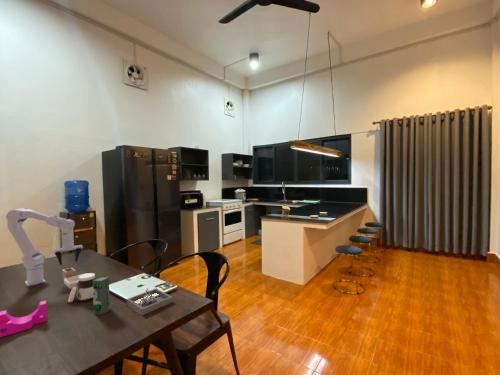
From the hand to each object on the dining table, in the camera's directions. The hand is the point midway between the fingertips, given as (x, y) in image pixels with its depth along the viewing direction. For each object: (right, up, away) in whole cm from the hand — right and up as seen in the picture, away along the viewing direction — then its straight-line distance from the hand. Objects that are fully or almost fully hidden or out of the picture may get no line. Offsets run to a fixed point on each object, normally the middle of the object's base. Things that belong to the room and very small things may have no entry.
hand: (68, 262), depth 150 cm
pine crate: (0, -11, +1) cm, 11 cm away
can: (+41, -11, -36) cm, 55 cm away
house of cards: (+60, -11, -32) cm, 69 cm away
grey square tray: (+60, -11, -30) cm, 68 cm away
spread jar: (+25, -11, -24) cm, 36 cm away
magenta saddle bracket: (+15, -12, -47) cm, 51 cm away
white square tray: (+9, -10, -4) cm, 14 cm away
